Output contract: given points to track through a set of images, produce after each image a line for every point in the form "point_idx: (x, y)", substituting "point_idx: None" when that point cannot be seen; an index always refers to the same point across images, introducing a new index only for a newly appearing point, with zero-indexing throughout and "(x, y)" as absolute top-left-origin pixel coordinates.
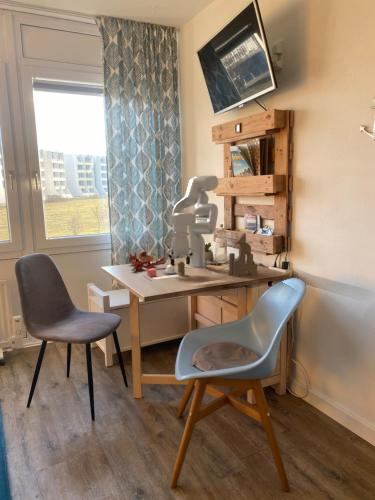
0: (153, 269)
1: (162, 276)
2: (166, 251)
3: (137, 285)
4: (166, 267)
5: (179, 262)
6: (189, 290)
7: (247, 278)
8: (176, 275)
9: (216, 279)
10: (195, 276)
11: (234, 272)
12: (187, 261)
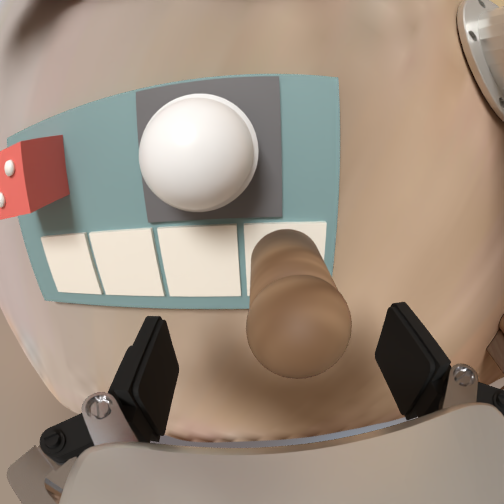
0: (15, 195)
1: (105, 238)
2: (12, 482)
3: (8, 293)
4: (139, 148)
5: (272, 365)
6: (207, 441)
7: (480, 377)
8: (232, 263)
9: None
10: (392, 274)
11: (496, 357)
12: (394, 361)
